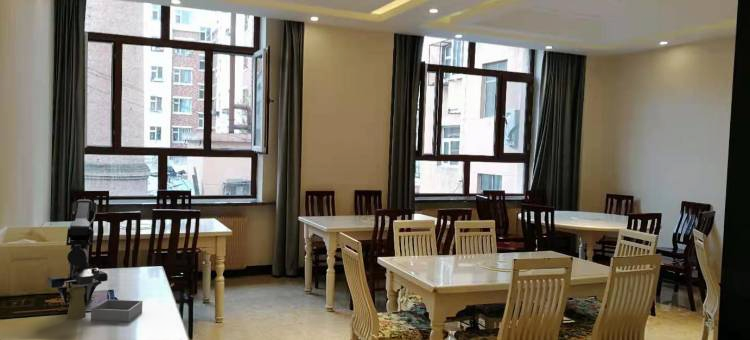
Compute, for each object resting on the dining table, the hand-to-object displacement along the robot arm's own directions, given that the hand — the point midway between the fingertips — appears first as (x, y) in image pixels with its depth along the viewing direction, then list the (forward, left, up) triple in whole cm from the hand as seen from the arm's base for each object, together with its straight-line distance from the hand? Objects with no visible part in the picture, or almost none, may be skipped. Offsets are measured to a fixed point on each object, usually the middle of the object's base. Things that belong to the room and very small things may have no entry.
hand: (77, 302), depth 197 cm
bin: (+14, +2, -5) cm, 15 cm away
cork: (0, 0, -5) cm, 5 cm away
